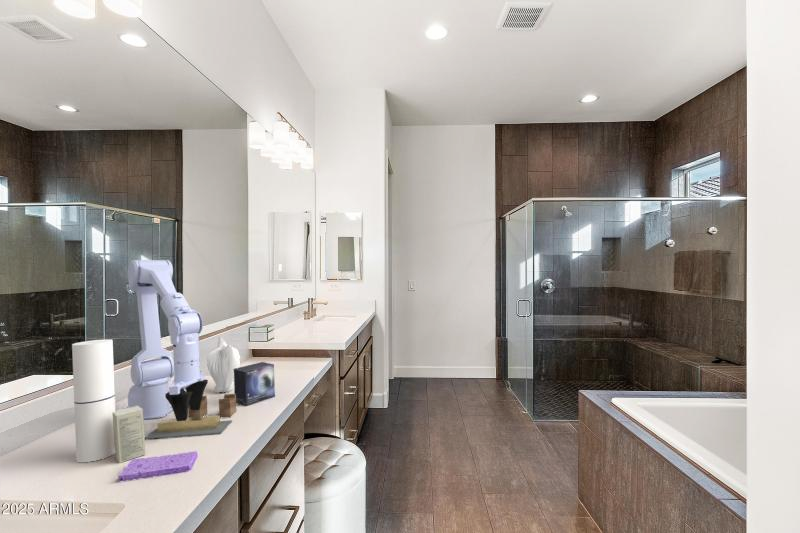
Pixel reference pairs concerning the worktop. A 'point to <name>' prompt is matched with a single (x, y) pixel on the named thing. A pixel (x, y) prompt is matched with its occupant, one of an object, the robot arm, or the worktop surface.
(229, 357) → the shell sculpture
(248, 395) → the small box
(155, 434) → the mat
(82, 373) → the cylindrical container
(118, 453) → the skincare box
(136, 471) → the sponges
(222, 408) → the posts
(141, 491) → the worktop surface
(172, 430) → the rail
